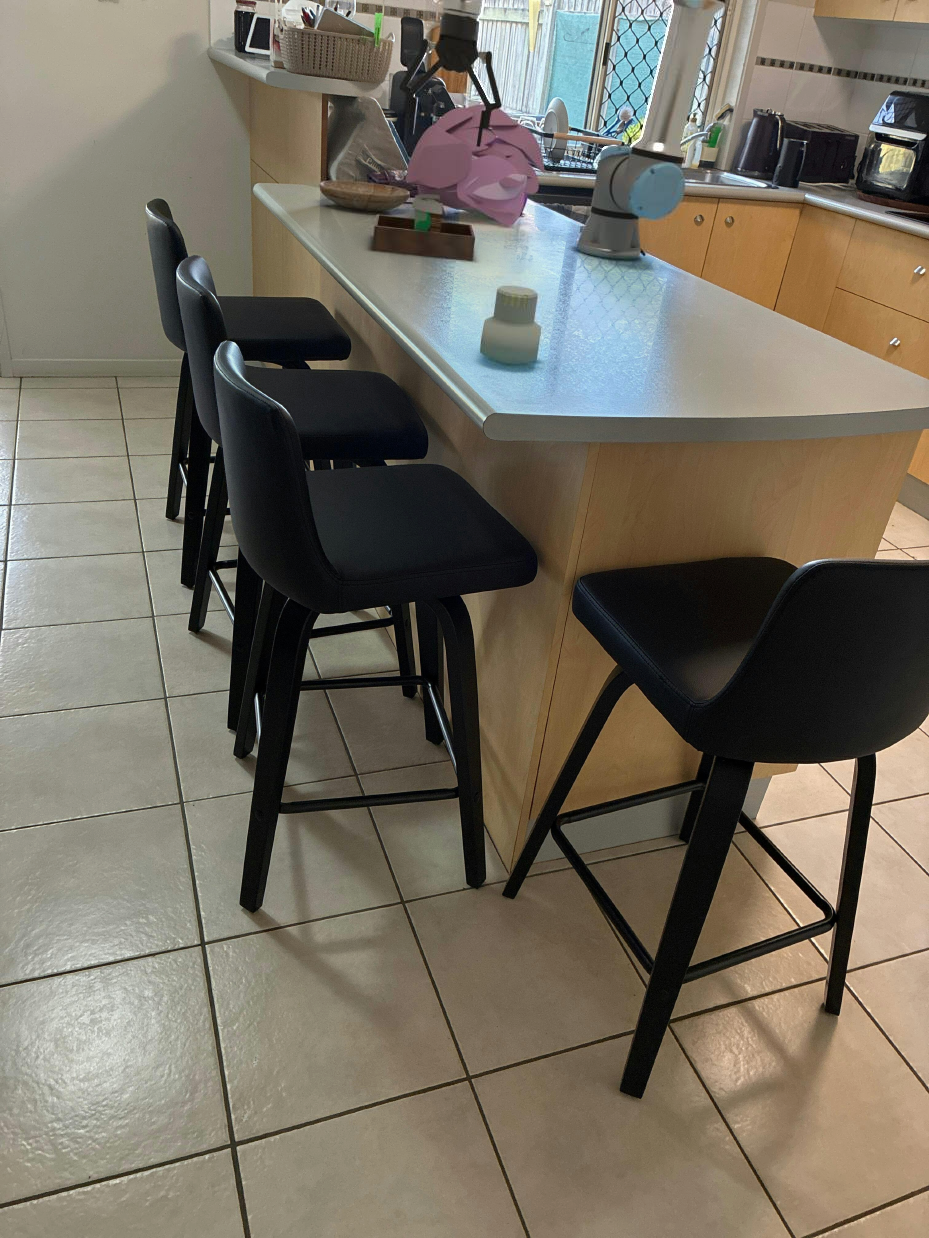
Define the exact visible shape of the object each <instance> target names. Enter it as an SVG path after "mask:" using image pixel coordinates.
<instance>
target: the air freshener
mask: <svg viewBox="0 0 929 1238" xmlns="http://www.w3.org/2000/svg"><path fill="white" fill-rule="evenodd" d="M538 297H539V295H538V292H537V291H536V290H534V289H531V288H529V287H526V286H519V285H501V286H499V287H498V288H497V289H496V295H495V303H494V310H493V315H492V316H489V317H486V318H485V319H484V322H483V326H482V330H481V337H480V346H479V352H480V353H481V354H482V356H484V357H486V359H488V360H490V361H491V362H494V363H498V364H502V365H507V366H526V365H529V364H531V363H534V362H536V361H537V360H538V354H539V349H540V341H541V333H542V326H541V325H540V324H539V323H538V322H536V321H535V318H536V313H537V312H536V311H537V304H538Z"/></svg>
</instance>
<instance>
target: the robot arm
mask: <svg viewBox="0 0 929 1238" xmlns="http://www.w3.org/2000/svg"><path fill="white" fill-rule="evenodd" d="M484 2H485V0H443V1H442V9H443V11H444V13H442V14H441V18H440V24H439V25H440V26H439V33H438V38H437V41H436V42H433V41H431V40H428V39H427V38H423V39H421V44H420V48H419V52H418V53H417V54H416V57H415V58H414V60H413V62H412V64H411V65H410V66H409V68H408V70H407V72H406V74H405V75H404V77H403V78H402V81H401V82H400V84H399V90H400V91H402V92H403V93H405V94H406V96H407V98H406V99H407V100H406V110H405V112H406V115H408V116H409V115H410V124H409V131H408V132H409V133H408V134H409V135H412V136H413V135H415V129H416V128H415V127H416V121H417V119H416V118H417V112H418V111H417V110H418V102H419V97H418V96H415V95H416V94H417V93H418V92H419V91H420V90H421V89H422V88H423V87H424V86H425V85H426V83H428V82H429V81H430V79H431V78H432V77H434V75H436V74H437V72H439V70H441V68H443V70H445V71H447V72H456V73H458V74H465V73H467V74H468V76H469V79H470V81H471V82H472V84H473V86H474V89H475V90H476V91H477V94H478V96H479V97H480V99H481V102H482V104H484V105H485V107H486V110H483V109H482V112H481V119H480V126H479V132H478V139H477V147H480V144H481V138H482V131H483V128H485V129H488V127H489V124H490V117H491V112H492V110H494V109H502V100H501V96H500V92H499V89H498V85H497V80H496V76H495V73H494V69H493V65H492V64H493V52H492V51H490V50H488V51H479V49H478V48H479V47H478V44H479V37H480V32H481V31H480V30H481V20H479V18H480V17H482V16H483V10H484ZM669 2H670V3H671V5H672V8H671V13H670V16H669V20H668V25H667V27H666V33H665V37H664V41H663V45H662V49H661V54H660V57H659V61H658V65H657V70H656V74H655V77H654V82H653V86H652V90H651V95H650V99H649V102H648V105H647V111H646V115H645V119H644V123H643V127H642V132H641V136H640V138H639V139H637V140H636V141H634V142H633V143H632V144H631V145H630V146H628V145H606V146H604V147H603V148H602V149H601V150H600V154H599V158H598V160H597V169H596V175H595V181H594V187H593V188H594V189H593V193H592V199H591V200H592V201H591V206H590V211H589V216H588V218H587V220H586V222H585V223H584V224H585V225H580V226H579V233H580V235H579V237H578V239H577V243H576V250H577V251H579V252H581V253H584V254H586V255H590V256H595V257H599V258H604V259H611V260H612V259H613V260H624V261H625V260H627V261H629V260H632V261H633V260H637V259H640V255H642V256H643V257H645V256H646V255H647V253H646V252H645V251H644V250H643V249H642V247H641V237H640V228H639V220H640V219H645V220H649V221H651V220H652V221H657V220H661V219H663V218H666V217H667V216H669V215H670V214H672V213H673V212H674V211H675V210H676V209H677V208H678V207H679V205H680V204H681V202H682V200H683V198H684V196H685V191H686V178H685V177H684V174H683V171H682V167H683V163H684V159H685V154H684V151H683V149H682V148H681V143H682V140H683V135H684V132H685V128H686V124H687V120H688V117H689V112H690V109H691V105H692V101H693V97H694V94H695V91H696V90H695V89H696V86H697V82H698V79H699V75H700V70H701V67H702V64H703V60H704V55H705V51H706V49H707V46H708V45H707V44H708V41H709V37H710V33H711V30H712V26H713V22H714V18H715V15H716V14H717V13H718V12H719V11H721V10H722V9H723V8H724V7H725V6H726V2H727V0H670V1H669ZM433 50H435V54H436V56H437V58H438V60H437V61H436V62H435V63H434V64H433V65H431V67H430V68H429V69H428V70H427V71H426V72H425V73H424V74H423V75H422V76H421V77H420V78H419V79H418V80H417V81H416V82H415V83H414V84H413V85H412V86H409V85H410V83H411V82H412V80H413V78H414V76H415V75H416V73H417V71H418V70H419V68H420V66H421V65H422V63H423V61H424V59H425V57H426V55H427V54H428V55H429V54H431V52H432V51H433ZM478 59H480V61H481V64H483V65H485V71H486V75H487V78H488V82H489V85H490V91H491V94H492V98H493V102H491V101H490V99H489V97H488V95H487V93H486V91H485V89H484V86H483V85H482V83H481V81H480V79H479V76H478V75H477V73H476V71H475V69H474V68H473V66H472V65H474V63H475V62H476V61H477V60H478Z"/></svg>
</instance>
